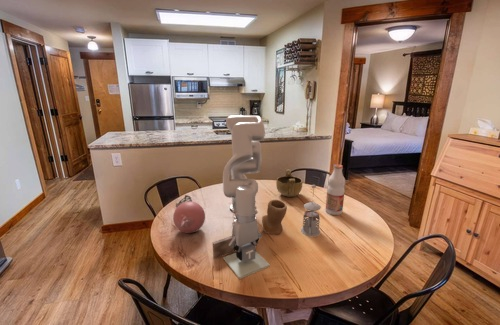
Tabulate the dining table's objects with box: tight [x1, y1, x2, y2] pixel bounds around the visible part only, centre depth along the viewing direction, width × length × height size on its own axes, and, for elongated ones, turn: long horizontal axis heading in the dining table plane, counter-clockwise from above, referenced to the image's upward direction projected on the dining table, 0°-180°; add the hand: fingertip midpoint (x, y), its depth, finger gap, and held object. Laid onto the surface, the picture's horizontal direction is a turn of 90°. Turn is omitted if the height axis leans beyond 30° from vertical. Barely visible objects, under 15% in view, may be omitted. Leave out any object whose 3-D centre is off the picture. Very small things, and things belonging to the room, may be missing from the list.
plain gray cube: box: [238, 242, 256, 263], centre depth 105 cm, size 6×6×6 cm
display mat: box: [222, 250, 271, 280], centre depth 106 cm, size 14×14×1 cm
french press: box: [300, 184, 322, 238], centre depth 125 cm, size 10×12×25 cm
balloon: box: [172, 200, 206, 234], centre depth 126 cm, size 15×20×15 cm
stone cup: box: [261, 199, 288, 235], centre depth 130 cm, size 15×12×15 cm
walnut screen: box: [212, 235, 236, 259], centre depth 114 cm, size 20×2×7 cm, turn 121°
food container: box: [175, 194, 193, 208], centre depth 144 cm, size 12×6×10 cm, turn 168°
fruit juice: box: [324, 163, 346, 216], centre depth 145 cm, size 9×9×28 cm
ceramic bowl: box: [275, 169, 303, 198], centre depth 170 cm, size 22×17×15 cm
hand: (246, 255), depth 105 cm, fingers closed on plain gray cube, 5 cm apart
